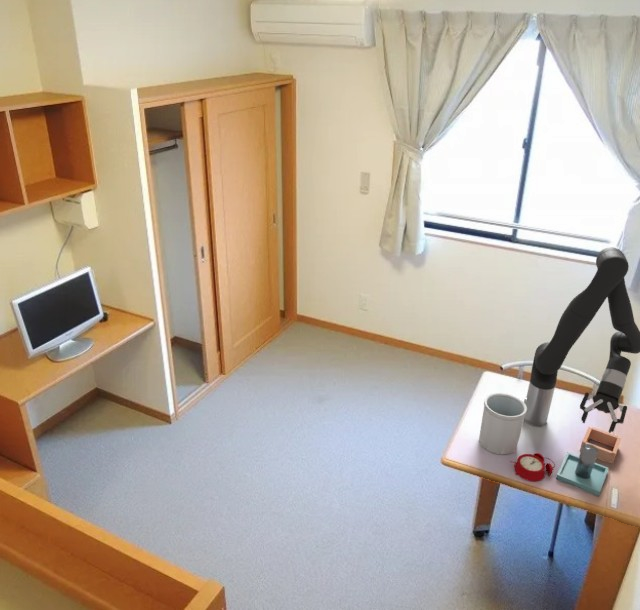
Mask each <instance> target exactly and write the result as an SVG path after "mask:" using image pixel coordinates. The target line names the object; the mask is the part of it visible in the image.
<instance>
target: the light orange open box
mask: <svg viewBox="0 0 640 610" xmlns="http://www.w3.org/2000/svg"><path fill="white" fill-rule="evenodd" d="M589 440H593V441H595V442H598V443H601V444H603V445H606V446H609V447H612V448H613V450H611V449H610V450H609V449H607V448H604V447H601V446H599V445H597V444H593V443H591V442H589ZM621 442H622V438H621V437H619V436H618V435H615V434H613V433H609V432H607V431H604V430H601V429H598V428H596V427H593V426H592V427H591V426H588V427H587V430H586V433H585V434H584V436H583V439H582V441H581V445H580V448H579V452H581V450H582V446H583V445H584V444H590V445H593V446H595V447H596V448H597V449H598V454H597V457H596V460H600V461H603V462H605V463H608V464H610V463H611V464H613V463H614V461H615V459H616V455H617V453H618V450H619V446H620V444H621Z"/></svg>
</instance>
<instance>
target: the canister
mask: <svg viewBox="0 0 640 610" xmlns="http://www.w3.org/2000/svg"><path fill="white" fill-rule="evenodd" d="M593 445H594V444H593ZM593 445H590V444H584V445H583V446H582V450H581V451H580V454H579V455H578V456H579V460H578V463H577V466H576V469H575V473H576V475H577V476H579V477H581V478H584V479H588V478H590V475H591V472H592V469H593V466H594V463H596V460H597V458H596V457H597V454H598V449H597V448H596V447H595V446H593Z"/></svg>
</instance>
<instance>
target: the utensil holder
mask: <svg viewBox="0 0 640 610" xmlns="http://www.w3.org/2000/svg"><path fill="white" fill-rule="evenodd" d="M526 412H527V406H526V404H525V403H524V400H523V399H522V400H521V398H520V397H517V396H514V395H512V394H508V393H504V392H503V393H502V392H494V393H490V394H488V395H487V396H485V398H484V401H483V412H482V417H481V424H480V430H479V443H480V445H481V446H482V447H483V448H484V449H485V450H487V451H488V452H490V453H492V454H496V455H510V454H512V453H514V452H515V451H516V450H517V448H518V444H519V440H520V436H521V432H522V428H523V424H524V422H525V421H524V417H525V414H526Z"/></svg>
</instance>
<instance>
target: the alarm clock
mask: <svg viewBox="0 0 640 610" xmlns="http://www.w3.org/2000/svg"><path fill="white" fill-rule="evenodd" d="M546 459H548V460H549V461H551V462H552V463H553V466H552V464H551V463H549V462H546V463H545V457H544V456H543V455H542V454H541V453H539V452H535V453H534V454H531V453H523V454H521V455H520V456H519V457H518V458H517V460H516V461H512V460H510V462H509V463H514V464H513V465H514V466H513V469H514V470H513V471H514V474H515V476H519V477H520V478H521V479H523V480H525V481H528V482H534V483H535V482H541V481H542V480H543V479H544V478H545V476H546V473H549V474H548V475H547V476H548V477H549V476H552V474H553V473H554V469H555V467H556V464H555V462H554V461H553V460H552V459H551V458H549V457H546Z"/></svg>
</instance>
